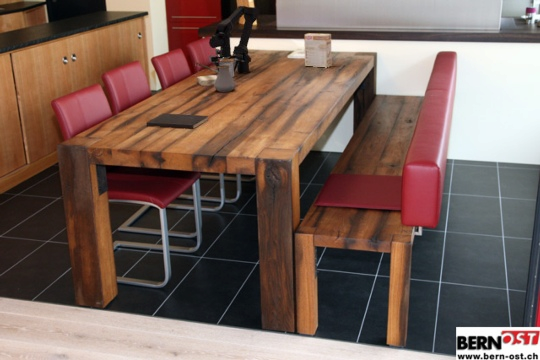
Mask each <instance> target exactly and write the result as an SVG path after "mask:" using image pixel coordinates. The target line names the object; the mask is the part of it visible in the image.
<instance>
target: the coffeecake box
mask: <svg viewBox="0 0 540 360" xmlns="http://www.w3.org/2000/svg"><path fill="white" fill-rule="evenodd" d="M305 66H313V67H312V68H317V67H325V68H324V69H328V68H330V67H329V66H331V67H332V34H331V33H317V32H316V33H313V32H312V33H310V32H308V33H305V34H304V67H305ZM327 67H328V68H327Z"/></svg>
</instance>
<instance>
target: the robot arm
mask: <svg viewBox="0 0 540 360" xmlns="http://www.w3.org/2000/svg"><path fill="white" fill-rule="evenodd" d="M259 15H260V11H259V8H258V7H254V6H253V7H252V6H246V5H239V6H237V8H236V9H235V10H234V11H233V12H232V13H231V15H229V16H228V18H227V19H224V20H223V21H221V22H219V23H218V24H217V27H216V30H215V32H214V35H211V37H210V39H209V41H208V44H209V47H210V48H211V49H215V55H210V56H209V57H208V59H209V62H210V63H212V64H214V65H215V67H216V71H219V68H218V66H219V63H220V62H219V61H223V60H231V59H232V60H233V62H234V73H236V72H237V74H240V75H241V74H250V73H251V72H250V64H249V63H251V62H252V58H251V56H250V54H249V50H248V45H249V41H250V36H251V34H252V33H251V32H252V29H253V25H254V23H255V22H256V21H257V20H258V18H259ZM242 16H243V19H244V24H243V27H242V32H241V35H240V38H239V42H238V45H235V46H234V47H233V51H231V50H232V49H231V38H232V37H233V34H231V32H232V30H233V28H234V25H235V24H236V23H237V22H238V21H239V20H240V19H241V18H242Z"/></svg>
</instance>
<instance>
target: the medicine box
mask: <svg viewBox="0 0 540 360" xmlns="http://www.w3.org/2000/svg"><path fill="white" fill-rule="evenodd" d="M223 65H227V66H230V67H229V72H230V74H231V76H232V78H234V77H235V72H234V60H233V61H232V60H231V61H228V60H227V61H220V62H219V66H223Z"/></svg>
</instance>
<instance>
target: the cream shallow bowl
mask: <svg viewBox="0 0 540 360" xmlns="http://www.w3.org/2000/svg"><path fill="white" fill-rule="evenodd" d="M217 75H218V74H214V75H213V74H212V75H203V76H196V81H197V83H198V85H200V86H201V87H206V86H214V84H215V81H216V78H217Z"/></svg>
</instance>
